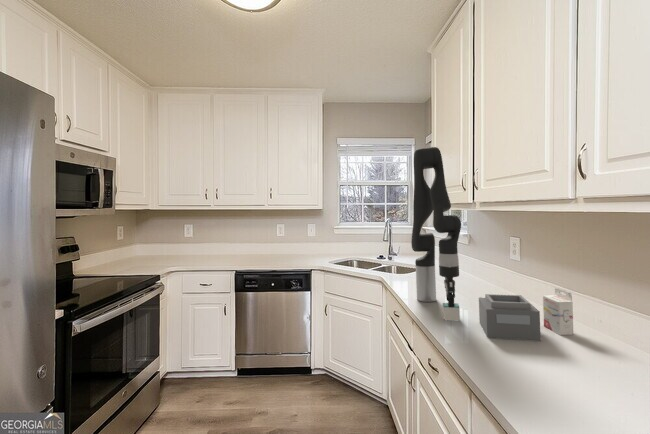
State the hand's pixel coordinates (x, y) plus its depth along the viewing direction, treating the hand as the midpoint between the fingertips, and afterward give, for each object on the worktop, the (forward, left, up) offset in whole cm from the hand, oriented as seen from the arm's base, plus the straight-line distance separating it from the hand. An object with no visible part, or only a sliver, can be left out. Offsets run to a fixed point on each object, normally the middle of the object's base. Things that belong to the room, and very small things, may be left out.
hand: (450, 303), depth 126 cm
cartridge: (0, 0, -6) cm, 6 cm away
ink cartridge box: (+6, +35, -7) cm, 36 cm away
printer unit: (+10, +18, -6) cm, 21 cm away
